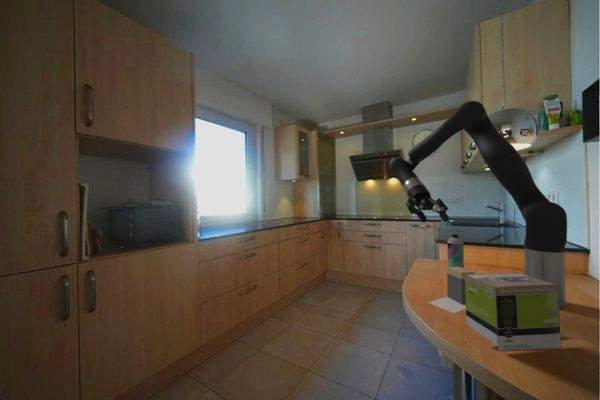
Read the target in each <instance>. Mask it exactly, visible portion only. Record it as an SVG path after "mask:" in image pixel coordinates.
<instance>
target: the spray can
mask: <svg viewBox="0 0 600 400" xmlns="http://www.w3.org/2000/svg"><path fill="white" fill-rule="evenodd" d="M446 246H447V248H446V249H447V267H461V268H464V269H465V267H464V265H465V259H464V257H465V255H464V254H465V253H464V248H465V247H464V240H463V239H461V238H460V237H459V236H458V233H452V236H451V237H449V238H448V239H447V245H446Z"/></svg>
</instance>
